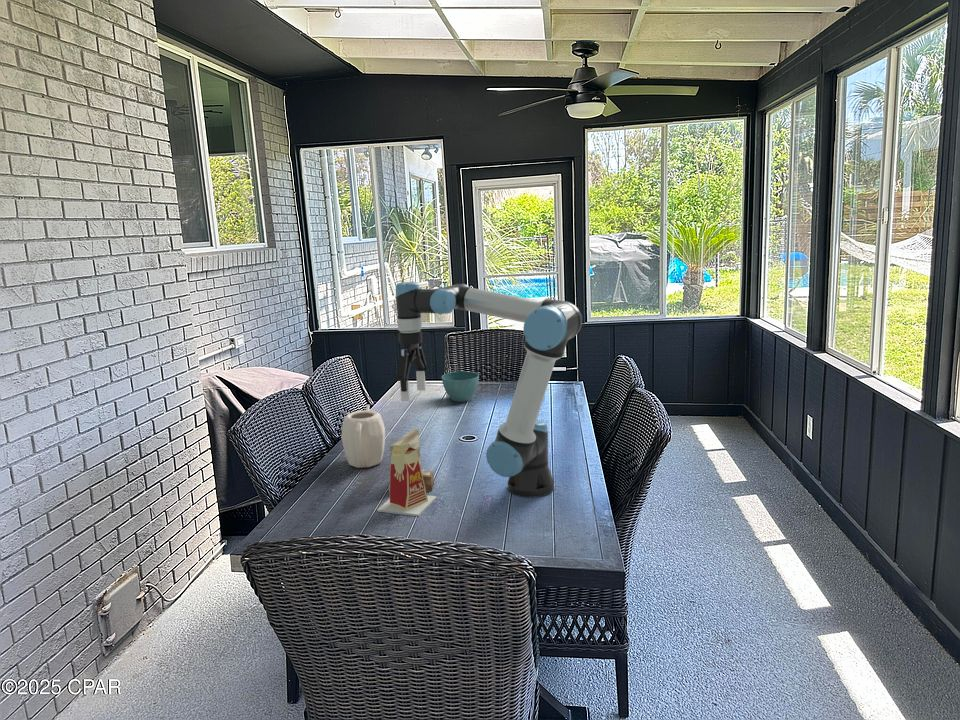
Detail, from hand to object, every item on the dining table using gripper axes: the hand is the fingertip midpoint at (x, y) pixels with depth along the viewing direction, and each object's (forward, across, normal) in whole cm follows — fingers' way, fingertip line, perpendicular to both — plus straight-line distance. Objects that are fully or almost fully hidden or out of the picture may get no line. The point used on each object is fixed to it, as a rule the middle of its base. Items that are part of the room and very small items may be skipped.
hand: (413, 395), depth 218 cm
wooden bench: (+31, -3, -5) cm, 32 cm away
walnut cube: (+32, +1, +2) cm, 32 cm away
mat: (+31, +15, +2) cm, 35 cm away
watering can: (+32, -18, -28) cm, 46 cm away
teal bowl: (+31, -108, -20) cm, 114 cm away
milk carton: (+31, +14, +2) cm, 34 cm away
